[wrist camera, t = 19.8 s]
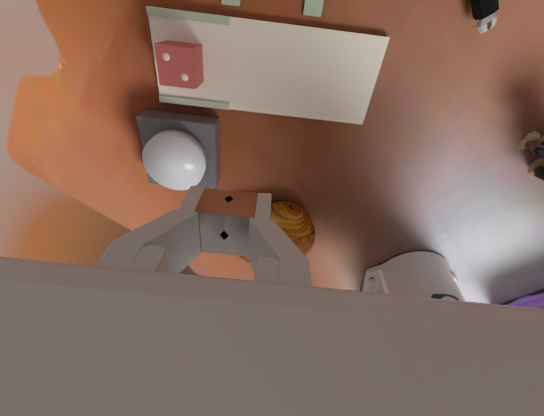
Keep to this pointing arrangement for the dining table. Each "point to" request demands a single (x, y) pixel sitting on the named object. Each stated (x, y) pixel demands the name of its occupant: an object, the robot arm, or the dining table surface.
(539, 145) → the doll family
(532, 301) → the candy box
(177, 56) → the red die
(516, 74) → the dining table surface
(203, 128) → the base
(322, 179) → the dining table surface
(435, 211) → the dining table surface
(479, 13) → the robot toy
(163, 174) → the dome plunger
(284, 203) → the croissant
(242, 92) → the board
